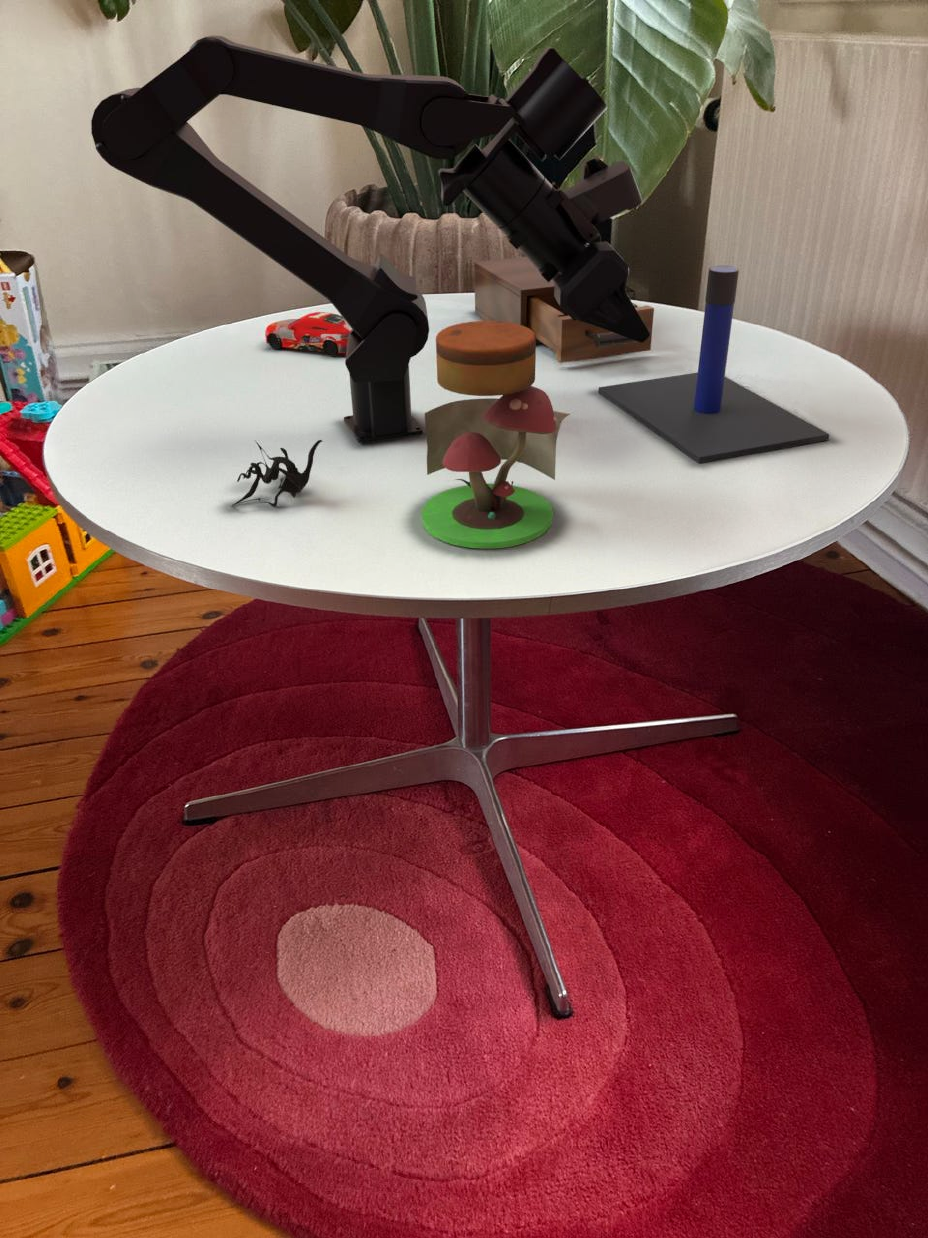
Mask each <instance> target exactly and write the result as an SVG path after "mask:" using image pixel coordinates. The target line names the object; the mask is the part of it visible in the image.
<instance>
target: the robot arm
mask: <svg viewBox="0 0 928 1238" xmlns="http://www.w3.org/2000/svg"><path fill="white" fill-rule="evenodd" d="M220 95H226V96H231V97H235V98H239V99H243V100H248V101H253V102H255V103H256V102H257V103H262V104H266V105H270V106H274V107H279V108H283V109H288V110H291V111H295V112H296V111H297V112H300V113H304V114H309V115H314V116H318V117H323V118H327V119H332V120H337V121H341V122H345V123H350V124H353V125H358V126H361V127H364V128H366V129H368V130H370V131H373V132H374V133H377V134H379V135H380V136H383V137H385V138H386V139H389V140H390V141H392V142H395V143H397V144H398V145H401V146H403V147H405V148H407V149H410V150H412V151H415V152H417V153H419V154H421V155H424V156H426V157H429V158H431V159H433V160H445V161H446V160H450V159H454V158H455V157H457V156H458V155H460V154H461V153H463V152H464V151H466V150H467V148H468V147H469V145H470V144H471V142H472V141H473V140H477V139H481V138H485V137H489V136H493V135H495V136H494V137H493V139H491V140H490V141H489V142H488V144H487V145H486V146H485V147H483V148H481V147H480V146H478V145H477V144H476V143H473V145H472V146H471V147H470V148H469V149H468V151H467V152H466V153H465V154H464V155H463V156H462V157H461V158H460V160H459V161H458V162H457V163H456V165H454V167H453V168H442V167H441V168H439V169H438V171H437V174H438V177H439V179H440V184H441V185H440V186H441V189H440V190H441V192H440V199H441V202H442V205H443V206H444V207H447V208H448V207H451V206H452V205H453V204H454V202H455V201H456V200H457V199H458V198H459V196H460V195H462V193H464V194H465V196H467V197H468V198H469V200H471V201H472V203H474V205H475V206H476V207H477V208H478V209H479V210H480V211H481V212H482V213H483V214H484V215H485V216H486V217H487V218H488V219H489V220H490V221H491V222H492V223H493V224H494V225H495V226H496V227H497V228H498V229H499V230H500V232H501V233H502V234H503V235H504V236H505V237H506V239H507V241H508V243H510V245H511V246H512V247H513V248H514V249H516V250H519V251H520V252H521V253H522V254H523V255H524V257H527V258H528V259H529V260H530V261H531V262H532V263H533V264H534V265H535V266H536V267H537V269H538V270H539V272H540V274H541V275H542V276H543V277H544V278H545V279H546V280H547V281H548V282H550V281H551V280H552V279H553V281H554V283H555V287H554V296H555V298H556V300H557V302H558V304H559V305H560V307H561V308H562V309H563V310H564V311H565V312H566V313H567V314H568V315H569V316H570V317H571V318H572V319H573V320H574V321H576V320H577V321H579V322H585V323H588V324H591V325H594V326H597V327H600V328H603V329H605V330H608V331H611V332H614V333H616V334H619V335H622V336H624V337H627V338H629V339H632V340H635V341H637V342H640V343H643V342H644V341H645V340H646V339H648V338H649V337H650V332H649V330H648V329H647V327H646V325H645V324H644V322H643V320H642V318H641V317H640V315H639V313H638V312H637V310H636V308H635V307H634V305H633V303H634V302H633V301H632V300H631V298H630V296H629V295H628V293H627V290H626V288H627V281H628V277H629V276H630V268H629V267H630V265H629V264H628V263H627V262H626V261H625V260H624V259H623V257H622V256H620V254H619V253H618V252H617V251H616V250H615V249H614V248H613V247H612V245H611V244H610V243H609V242H608V241H602V236H601V234H600V231H599V229H597V228H596V227H595V225H599V224H602V223H603V222H605V221H607V220H609V219H611V218H613V217H615V216H617V215H619V214H621V213H623V212H624V211H626V210H628V211H632V210H633V209H635V208H637V207H638V206H640V205H641V204H642V203H643V200H644V199H643V198H642V195H641V193H640V189H639V186H638V184H637V181H636V178H635V176H634V175H635V174H634V172H633V170H632V166H631V165H629V164H628V163H626V162H625V161H623V160H620V161H616V160H614V161H612V162H611V164H610V165H608V164H607V163H605V162H604V161H603V159H601V158H600V157H599V156H597V155H594V156H591V157H590V158H588V159H586V160H585V161H583V162H581V166H580V178H579V179H580V180H576V181H574V185H571V186H570V187H569V188H566V189H565V190H562V189H561V188H560V187H559V186H558V185H557V184H556V182H555V181H552V183H551V182H550V181H549V180H548V179H547V178H546V177H545V176H544V175H543V174H542V172H541V171H540V170H538V168H537V167H536V166H535V165H534V164H533V162H531V160H529V158H528V157H527V156H526V155H525V154H524V153H523V152H522V151H521V149H519V147H518V146H517V145H516V144H515V143H514V142H513V141H512V140H511V137H512V136H513V135H514V134H516V135H517V136H518V137H519V139H521V140H522V141H523V142H524V143H525V145H526V146H527V147H528V148H529V149H530V150H531V152H533V154H534V155H535V156H536V157H537V158H538V159H539V160H540V162H544V161H545V160H546V158H548V159H549V160H551V159H552V158H553V157H555V158H557V160H558V161H560V160H562V158H563V157H564V156H565V155H566V154H567V153H568V152H569V151H570V150H571V149H572V148H573V147H574V145H575V144H576V143H577V142H578V141H579V140H580V139H581V138H582V136H584V134H585V133H586V132H587V131H588V130H589V129H590V128H591V126H593V124H595V122H597V120H598V119H599V118H600V117H601V116H602V115H603V113H605V112H606V111H607V109H608V105H607V103H606V102H605V101H604V100H603V98H602V96H601V95H600V94H599V93H598V91H596V89H595V88H594V86H593V85H592V84H591V83H590V82H589V81H588V79H587V78H586V77H585V76H583V75H581V74H578V73H577V72H576V70H575V69H574V68H573V67H572V65H570V64H569V63H568V62H567V61H566V60H565V59H564V58H563V57H562V56H561V55H560V54H559V53H558V51H557V50H556V49H555V48H554V47H552V46H547V47H546V48H545V49H544V50H543V51H542V53H540V55H539V56H538V57H537V58H536V61H535V62H534V64H533V66H532V68H531V69H530V70H529V71H528V73H527V74H525V76H524V77H523V78H522V79H521V81H520V82H518V84H517V85H516V86H515V87H514V89H512V90H511V92H510V93H509V94H508V95H507V96H506V98H505V99H504V98H501V97H496V96H495V94H493V93H492V94H491V95H490V96H488V95H487V96H486V95H481V94H472V93H468V92H467V90H466V89H464V87H463V86H462V85H461V84H460V83H458V82H457V81H456V80H454V79H452V78H449V77H447V76H442V75H421V74H419V75H418V74H371V73H369V74H368V73H363V72H359V71H355V70H351V69H346V68H342V67H338V66H334V65H329V64H325V63H321V62H317V61H313V60H309V59H304V58H300V57H295V56H291V55H288V54H283V53H279V52H274V51H270V50H267V49H262V48H258V47H253V46H250V45H245V44H241V43H237V42H234V41H232V40H231V39H229V38H227V37H224V36H222V35H209V36H204V37H201V38H199V39H196V41H195V42H194V43H193V44H192V45H191V46H190V47H189V50H188V51H187V52H185V53H184V54H183V55H182V56H181V57H180V58H178V59H177V60H175V61H174V62H173V63H172V64H170V65H169V66H168V67H167V68H165V69H164V70H163V71H161V72H160V73H159V74H158V75H156V76H155V77H153V78H152V79H150V81H147V83H146V84H144V85H143V86H142V87H133V88H127V89H124V90H121V91H118V92H116V93H113V94H110V95H109V96H107V97H105V98H104V99H102V100H101V101H100V102H99V103H98V105H97V106H96V107H95V108H94V110H93V114H92V117H91V120H90V123H91V136H92V140H93V143H94V146H95V150H96V152H97V153H98V154H99V156H100V157H101V159H102V160H104V161H105V162H106V163H107V164H108V165H109V166H110V167H112V168H113V169H116V170H117V171H119V172H121V173H123V174H126V175H127V176H129V177H132V178H133V179H135V180H137V181H140V182H141V183H144V184H145V185H147V186H149V187H152V188H155V189H157V190H161V191H163V192H166V193H169V194H171V195H174V196H176V197H179V198H183V199H186V200H187V201H189V202H190V203H191V202H192V203H193V204H194V205H196V206H197V207H198V208H200V209H201V210H203V211H204V212H205V213H206V214H208V215H209V216H211V217H212V218H214V219H215V220H217V221H218V222H220V223H221V225H223V226H225V227H226V228H227V229H229V230H231V231H232V232H233V233H234V234H236V235H237V236H238V237H240V238H242V239H243V240H244V241H246V242H247V243H248V244H250V245H251V246H253V247H254V248H256V249H257V250H258V251H260V252H261V253H263V255H265V256H267V257H268V258H270V259H271V260H272V261H274V262H275V263H277V264H278V265H279V266H280V267H282V268H283V269H285V270H286V271H288V272H289V273H290V274H292V275H293V276H295V277H296V278H298V279H299V280H300V281H301V282H303V283H305V284H306V285H307V286H309V287H310V288H311V289H313V290H314V291H316V292H317V293H318V294H320V295H321V296H322V297H324V298H325V299H326V300H328V301H329V302H330V303H331V304H332V306H333V307H334V308H335V310H336V311H337V312H338V313H339V315H340V316H342V317H343V318H344V319H345V321H346V322H347V323H348V324H349V326H350V327H351V328H352V329H353V330H352V331H351V332H350V333H349V335H348V342H347V351H346V353H345V361H344V364H345V367H346V369H347V371H348V374H349V375H348V376H349V386H350V398H351V409H352V415H347V416H343V423H344V424H345V426H346V427H347V429H348V430H349V432H350V433H351V435H352V436H353V437H354V438H355V440H356V441H357V443H359V444H367V443H368V444H369V443H375V442H382V441H388V440H394V439H401V438H402V439H403V438H406V437H407V438H408V437H415V436H420V435H423V434H424V428H423V426H422V425H421V424H420V423H419V422H418V421H417V420H416V418H415V417H414V416H413V415H412V402H411V400H412V398H411V379H410V362H411V358H413V357H415V356H417V355H418V354H420V352H421V351H422V350H424V348H425V346H426V344H427V342H428V340H429V334H430V324H429V323H430V322H429V317H428V309H427V302H426V300H425V297H424V295H423V294H422V292H421V291H420V290H419V289H418V284H417V278H416V277H415V276H412V275H408V274H406V273H403V272H402V271H400V270H399V269H398V268H397V267H396V266H395V264H393V263H392V262H391V261H390V260H389V258H388V257H386V256H385V255H384V254H382V253H380V254H378V256H377V258H376V259H377V260H376V261H375V263H374V265H371V264H369V263H365V262H364V261H359V260H358V259H355V258H353V257H351V256H350V255H348V254H347V253H346V252H344V251H343V250H341V249H340V247H339V248H338V246H336V245H335V244H333V243H332V242H330V241H329V240H328V239H327V238H325V237H324V236H323V235H322V234H320V233H319V232H318V231H316V230H315V229H313V228H312V227H310V226H309V225H308V224H307V223H305V222H304V221H303V220H301V219H300V218H298V216H295V215H294V214H293V213H291V212H290V210H288V209H286V208H285V207H284V206H282V205H281V204H279V202H277V201H276V200H274V199H273V198H272V197H270V196H269V195H268V194H266V193H265V192H263V191H262V190H261V189H259V188H258V187H257V186H255V185H254V184H252V183H251V182H250V181H249V180H248V179H246V178H245V177H243V176H242V175H241V174H239V173H238V172H236V171H235V170H234V169H233V168H231V167H230V166H228V165H227V164H225V162H223V161H222V160H220V159H219V158H218V157H217V155H215V154H214V152H213V151H212V150H211V148H210V147H209V146H208V144H206V142H204V141H205V140H204V139H202V137H201V136H200V135H199V133H198V132H197V131H196V129H194V127H193V126H192V125H191V124H190V123H189V122H188V121H190V120H191V119H192V118H194V117H195V116H196V115H197V114H198V113H200V112H201V111H202V110H203V109H204V108H206V107H207V106H208V105H209V104H211V103H212V102H213V101H214V100H215V99H217V98H218V97H219V96H220Z"/></svg>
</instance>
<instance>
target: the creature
mask: <svg viewBox="0 0 928 1238" xmlns="http://www.w3.org/2000/svg"><path fill="white" fill-rule="evenodd" d="M323 442H324V441H323V440H322V439H318V440H316V442H314V444H313V445H312V446H311V447H310V449H309V452H308V455H307V464H306V467H305V469H304V470H303V472H299V469H298V467H296V464H295V462H293V460H291V459H289V455H288V452H287V450H286V449H285V448H284V447H280V448H279V449H280V451H281V453H283V456H274V457H270V456H269V455H268V454H267V452H266V451H265V450H264V448H263V447H262V446H261V445H260V444H259V443H258V442H257V440H254V443H256V445H257V446H258V449H259V451H260V453H261V455H262V458H263V461H264V462H262V461H259V462H250V466H249V467H248V469H247V470H246V473H245V472H241V473H240V474H239V475H238V478H237V480H236V483H238V482H239V481H240V480H241V478H242V479H243V480H244V479H247V480H249V479H250V478H251V477H252V474H253V475H256V477H255V479H254V481H253V483H252V485H251V487H250V489H249V491H248V492H247V493H246V494H245V495H243V497H242V498H240V499H239V500H238V501H236V502H235V503H233V504H232V505H230V507H233V506H235V505H238V504H242V503H247V502H252V501H258V502H260V503H261V504H268V505H270V506H272V507H273V508H275V507H278V506H277V505H278V500H279V499H278V498H279V497H280V495H281V494H282V493H284V492H285V493H288V494H290V495H291V496H292V498H293V499H295V497H296V495H297V494H298V493H301V491H303V490H304V488H305V487H306V486H307V484H308V483H309V480H310V476H311V472H312V468H313V464H314V457H315V452H316V450H317V447H318V446H319V445H320V444H321V443H323ZM263 453H264V454H265V455H266V456H267V458H268V459H269V460H270V461H273V462H272V464H271V466H270V467H269V466H268V463H267V461H266V460H265V457H264V455H263ZM280 464H283V465H284V466H285V468H286V469H283V468H282V467H280ZM260 465H264V467H265V472H264V474H263V471H262V467H261V466H260ZM280 473H281V474H283V475H284V476H282V477H281V478H280V483H279V486H278V487H277V489H278V490H279V491H278V492H277V493H276V494H275V496H274V502H270V501H261V499H262V497H258V498H253V499H250V500H247V499H249V498H252V496H254V494H255V492H256V491H257V489H258V486H259V483H260V481H262V482H263V483H264V484H267V485H269V484H271V483H272V481H277V479H279V475H280ZM283 478H284V480H283Z"/></svg>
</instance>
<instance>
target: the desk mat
mask: <svg viewBox="0 0 928 1238" xmlns="http://www.w3.org/2000/svg"><path fill="white" fill-rule="evenodd" d="M697 375H698V372H691V373H685V374H679V375H672V376H666V377H658V378H652V379H646V380H638V381H632V382H624V383H619V384H611V385H605V386H599V387H598V391H597V392H598V393H599V394H600V395H601V396H603V397H604V398H606V400H608V401H610V402H611V403H613V404H614V405H615V406H617V407H619V409H621V410H622V411H624V412H625V413H626V414H628V415H630V416H631V417H632V418H634V419H635V420H637V421H638V422H640V424H642V425H644V426H645V427H647V428H648V429H650V430H651V431H653V432H654V434H657V435H658V436H659V437H661V438H662V439H664V440H665V441H666V442H668V443H669V444H670V445H672V446H674V447H675V448H677V450H680V451H681V452H682V453H683V454H685V455H687V457H690V459H692V460H694V461H695V462H696V463H698V464H701V463H707V462H712V461H718V460H724V459H729V458H735V457H740V456H741V457H742V456H745V455H751V454H757V453H758V454H759V453H763V452H769V451H773V450H779V449H785V448H790V447H795V446H801V445H806V444H813V443H818V442H824V441H829V439H830V433H828V432H827V431H825V430H823V429H821V428H819V427H818V426H816V425H814V424H812V423H810V422H808V421H806V420H805V419H803V418H801V417H799V416H798V415H795V414H794V413H792V412H790V411H788V410H786V409H784V408H783V407H781V406H779V405H777V404H775V403H774V402H772V401H770V400H768V399H766V398H765V397H763V396H761V395H759V394H758V393H755V392H754V391H752V390H750V389H748V388H747V387H745V386H742V385H741V384H739V383H737V382H735V381H733V380H732V379H730V378H728V377H726V376H725V378H724V386H723V394H722V401H721V409H720V411H719V412H717V413H711V414H707V413H700V412H697V411H696V410H694V401H695V393H696V384H697Z"/></svg>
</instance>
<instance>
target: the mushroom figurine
mask: <svg viewBox="0 0 928 1238" xmlns="http://www.w3.org/2000/svg"><path fill="white" fill-rule="evenodd" d="M435 351H436V352H435V353H436V356H435V358H436V379H437V384H438V385H439V386H440V387H441V388H443V389H444V390H447V391H449V392H451V393H455V394H458V395H465V396H476V397H491V398H471V399H470V398H469V399H461V400H455V401H451V402H448V403H444V404H442V405H439V406H437V407H434V408H432V409H430V410H428V411H426V412H425V413H424V429H425V430H424V431H425V438H426V445H427V446H426V447H427V448H426V450H427V451H426V475H427V476H428V475H431V474H433V473H435V472H438V471H441V470H443V469H446V470H447V471H451V472H454V473H455V472H456V473H468V478H469V479H468V480H469V481H467V480H466V479H463V478H457V479H455V481H461V482H463V483H465V484H466V485H460V486H456V487H453V488H452V487H451V488H450V489H446V490H444V491H441V492H439V493H437V494H436V495H434V496H432V497H431V498H429V499H428V500H427V501H426V502H425V504H424V505H423V507H422V509H421V523H422V526H423V527H424V529H425V530H426V531H427V533H429V534H430V535H431V536H433V537H434V538H435V539H438V540H440V541H442V542H444V543H447V544H450V545H454V546H457V547H462V548H471V549H503V548H509V547H514V546H518V545H519V546H520V545H522V544H525V543H526V544H527V543H528V542H530V541H533V540H536V539H537V538H539V537H540V536H542V535H543V534H545V533H546V532H547V531H548V530H549V528H550V527H551V525H552V522H553V512H554V511H553V507H552V505H551V504H550V502H549V501H547V499H546V498H544V496H542V495H540V494H538V493H537V492H534V491H532V490H530V489H527V488H524V487H520V486H515V485H514V481H513V480H511V483H510V482H509V481H508V480H507V479H508V475H509V472H510V469H511V468H512V467H513V466H514V464H516V462H518V463H521V464H524V465H526V466H529V467H530V468H532V469H534V470H536V471H538V472H540V473H541V474H543V475H545V476H546V477H548V478H550V479H551V480H554V481H556V463H557V462H556V461H557V441H558V436H559V431H560V429H561V428H560V427H561V424H562V422H563V421H564V420H565V419H566V418H567V417H569V416H570V415H571V413H567V412H561V411H555V410H554V408H553V405H552V401H551V399H550V396H549V395H548V394H547V393H546V391H545V390H543V389H541V388H539V387H536V386H533V384H534V383H535V382H536V359H537V358H536V357H537V356H536V354H537V344H536V336H535V333H534V332H533V331H532V330H531V329H529V328H527V327H525V326H522V325H519V324H515V323H510V322H501V321H485V320H477V321H475V320H474V321H467V322H460V323H457V324H454V325H452V324H451V325H449V326H447V327H445V328H443V329H441V330H440V331H439V332H437V335H436V336H435ZM495 396H499V398H494V397H495ZM492 397H493V398H492ZM502 460H504V463H502V464H501V462H502ZM505 460H506V461H505ZM499 465H501V466H500V468H499V470H498V472H497V475H496V477H495V479H494V481H493V483H487V481H486V479H485V477H484V475H483V472H489V471H492V470H495V469H496V468H498V467H499Z"/></svg>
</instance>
